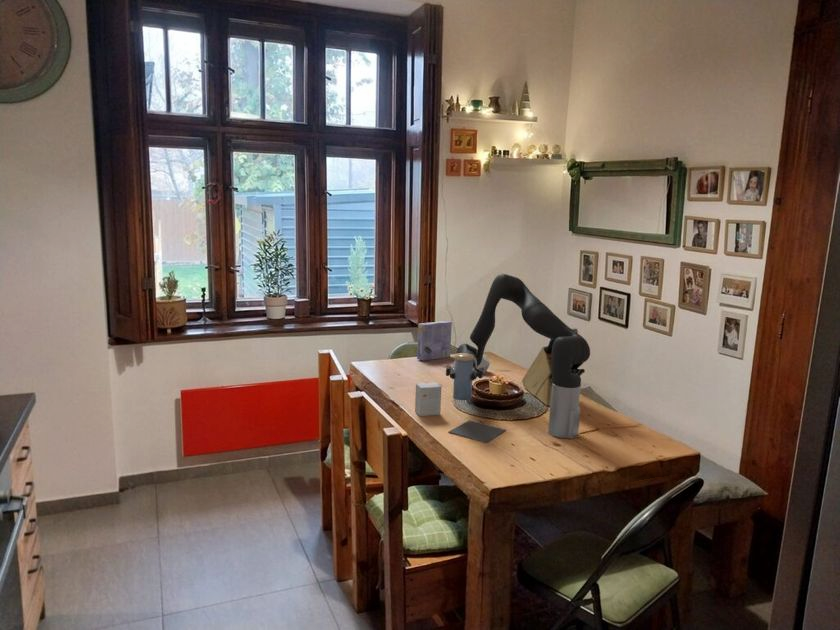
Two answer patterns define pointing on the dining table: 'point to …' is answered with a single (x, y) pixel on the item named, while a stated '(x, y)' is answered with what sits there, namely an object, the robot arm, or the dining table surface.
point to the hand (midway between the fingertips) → (462, 377)
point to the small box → (428, 399)
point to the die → (484, 363)
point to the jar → (463, 376)
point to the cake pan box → (434, 340)
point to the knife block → (544, 374)
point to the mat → (477, 431)
